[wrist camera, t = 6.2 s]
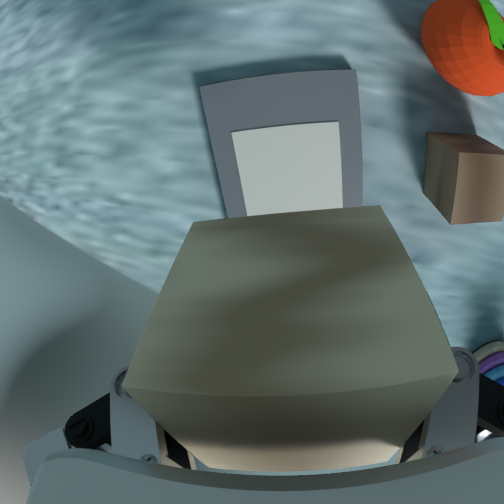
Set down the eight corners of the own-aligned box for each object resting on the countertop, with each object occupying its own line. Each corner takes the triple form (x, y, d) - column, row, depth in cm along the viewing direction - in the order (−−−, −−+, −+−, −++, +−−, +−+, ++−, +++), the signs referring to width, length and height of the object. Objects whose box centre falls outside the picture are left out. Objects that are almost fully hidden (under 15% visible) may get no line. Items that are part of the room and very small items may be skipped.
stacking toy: (458, 358, 33) (488, 474, 17) (502, 330, 29) (544, 442, 14) (465, 375, 36) (490, 475, 20) (504, 352, 32) (537, 449, 17)
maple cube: (380, 205, 9) (458, 370, 4) (365, 330, 12) (386, 461, 7) (193, 222, 10) (121, 386, 5) (230, 339, 13) (208, 467, 8)
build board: (352, 69, 16) (356, 69, 15) (357, 245, 24) (360, 253, 23) (203, 85, 18) (199, 86, 17) (239, 254, 25) (237, 262, 25)
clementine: (384, -9, 12) (428, -34, 6) (460, -11, 10) (516, -22, 4) (421, 94, 16) (476, 113, 10) (489, 84, 14) (550, 103, 8)
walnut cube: (476, 134, 17) (513, 155, 13) (470, 191, 20) (501, 221, 16) (425, 132, 18) (459, 152, 14) (422, 192, 20) (450, 224, 16)
